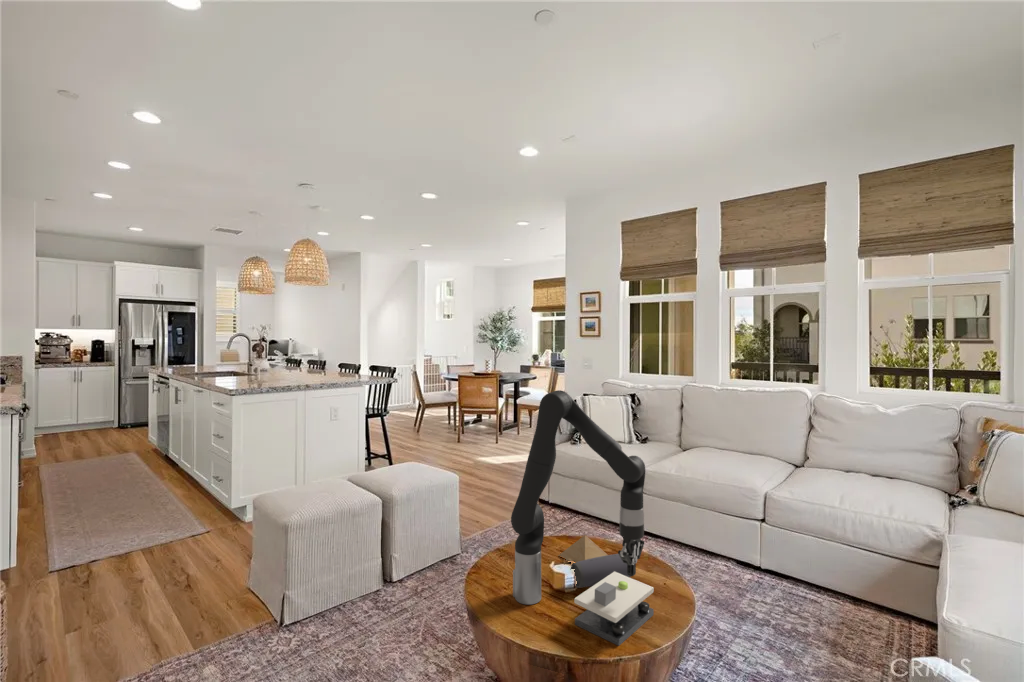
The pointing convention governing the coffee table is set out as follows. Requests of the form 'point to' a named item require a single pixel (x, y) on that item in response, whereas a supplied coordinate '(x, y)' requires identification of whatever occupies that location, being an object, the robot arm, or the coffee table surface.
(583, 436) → the robot arm
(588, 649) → the coffee table surface
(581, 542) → the model pyramid
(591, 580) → the bluetooth speaker
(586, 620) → the tribrach base
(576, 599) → the plate
